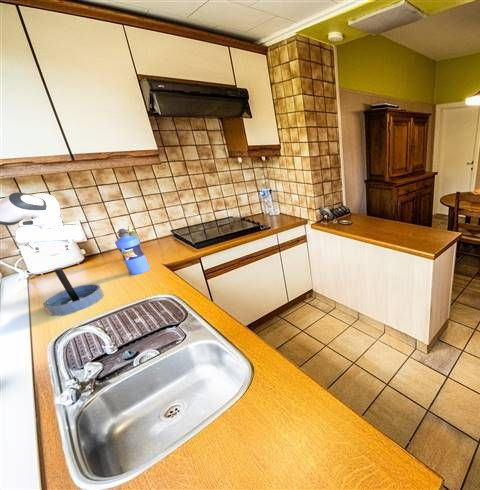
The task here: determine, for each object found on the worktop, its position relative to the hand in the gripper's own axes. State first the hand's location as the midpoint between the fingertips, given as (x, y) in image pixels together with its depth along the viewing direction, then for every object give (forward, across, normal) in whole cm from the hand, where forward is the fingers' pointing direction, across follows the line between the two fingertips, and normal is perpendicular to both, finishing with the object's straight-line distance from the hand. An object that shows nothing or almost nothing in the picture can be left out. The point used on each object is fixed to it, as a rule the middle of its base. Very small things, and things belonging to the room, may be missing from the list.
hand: (52, 250), depth 123 cm
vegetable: (-7, -36, -29) cm, 47 cm away
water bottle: (+12, -30, -10) cm, 34 cm away
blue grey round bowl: (+29, -5, 0) cm, 30 cm away
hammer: (+29, -5, +1) cm, 29 cm away
